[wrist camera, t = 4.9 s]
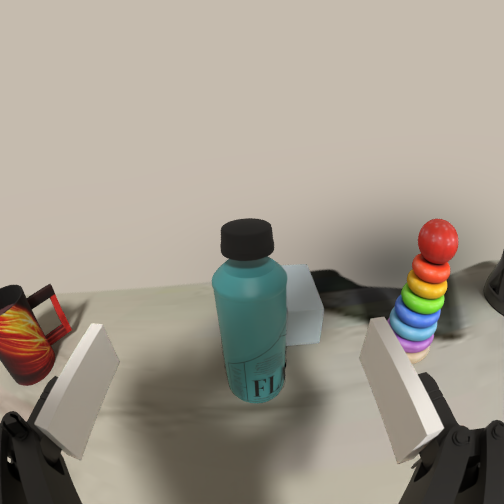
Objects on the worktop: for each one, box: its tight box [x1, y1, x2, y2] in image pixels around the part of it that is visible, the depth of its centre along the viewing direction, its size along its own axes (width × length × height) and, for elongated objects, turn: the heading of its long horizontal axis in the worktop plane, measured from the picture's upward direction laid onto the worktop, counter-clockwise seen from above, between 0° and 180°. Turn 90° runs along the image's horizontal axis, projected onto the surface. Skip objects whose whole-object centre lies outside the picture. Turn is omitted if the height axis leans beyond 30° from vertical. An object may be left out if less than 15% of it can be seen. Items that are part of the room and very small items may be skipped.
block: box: [281, 264, 324, 346], centre depth 39 cm, size 12×12×6 cm
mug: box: [0, 284, 72, 386], centre depth 28 cm, size 10×14×12 cm
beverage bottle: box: [212, 218, 288, 403], centre depth 25 cm, size 6×7×20 cm
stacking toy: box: [387, 219, 458, 364], centre depth 28 cm, size 8×8×19 cm
